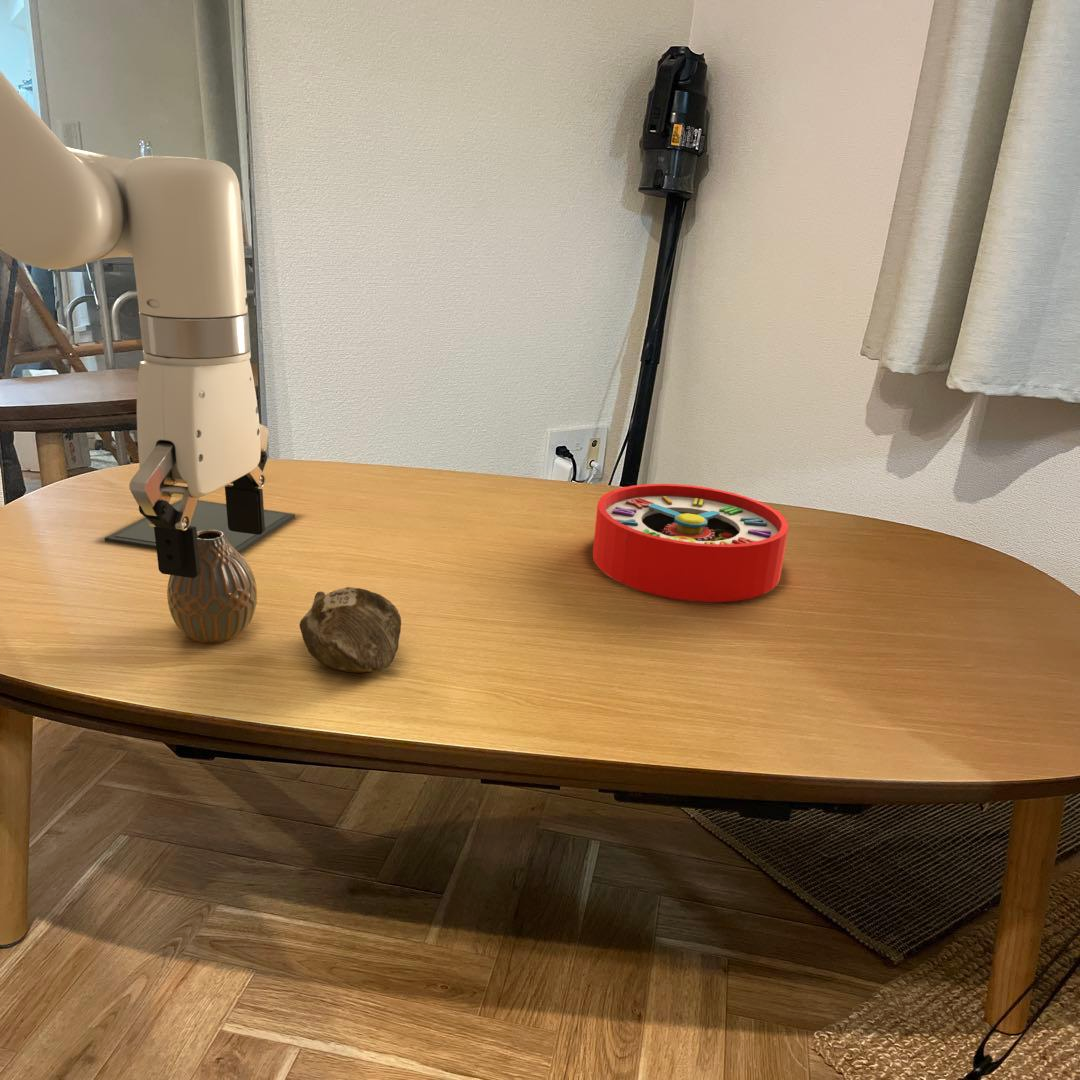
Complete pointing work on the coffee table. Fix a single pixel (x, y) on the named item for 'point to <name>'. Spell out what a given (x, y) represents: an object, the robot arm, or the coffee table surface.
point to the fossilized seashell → (352, 630)
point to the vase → (214, 592)
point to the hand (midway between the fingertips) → (215, 551)
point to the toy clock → (689, 542)
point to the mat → (202, 527)
